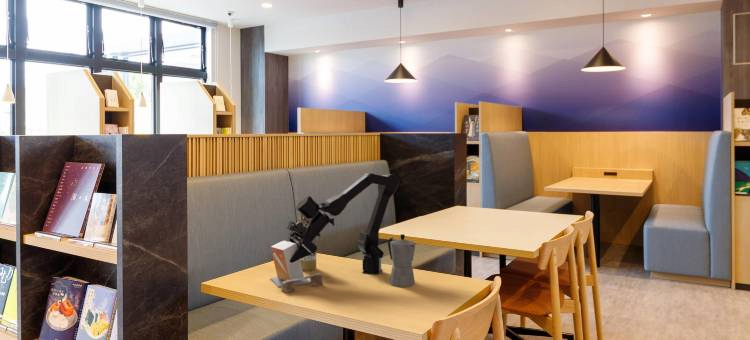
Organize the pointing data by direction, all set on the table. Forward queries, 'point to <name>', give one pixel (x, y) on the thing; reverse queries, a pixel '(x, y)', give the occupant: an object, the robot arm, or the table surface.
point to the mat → (300, 282)
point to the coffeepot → (401, 261)
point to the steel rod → (301, 278)
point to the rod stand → (289, 286)
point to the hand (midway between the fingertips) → (286, 259)
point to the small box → (286, 261)
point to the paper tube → (310, 260)
